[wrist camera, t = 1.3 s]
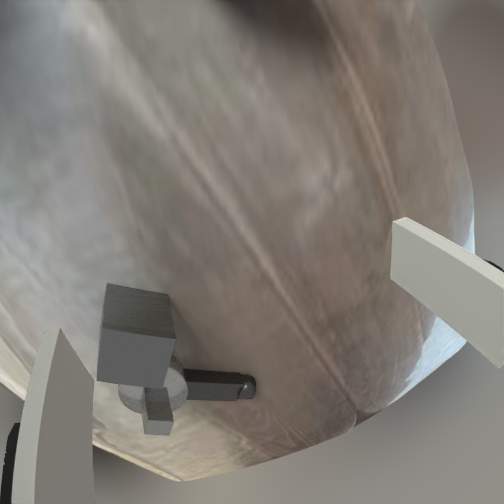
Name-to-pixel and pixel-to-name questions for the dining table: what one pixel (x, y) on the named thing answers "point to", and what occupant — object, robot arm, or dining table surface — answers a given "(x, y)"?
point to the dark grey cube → (135, 337)
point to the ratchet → (183, 394)
